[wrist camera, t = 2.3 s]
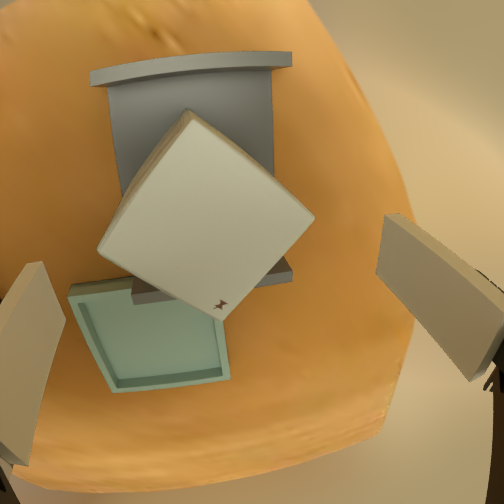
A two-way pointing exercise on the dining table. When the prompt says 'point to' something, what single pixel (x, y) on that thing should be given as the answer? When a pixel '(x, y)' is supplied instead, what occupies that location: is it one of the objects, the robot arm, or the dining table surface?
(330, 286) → the dining table surface
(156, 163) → the supplement box
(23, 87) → the dining table surface
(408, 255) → the robot arm
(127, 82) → the bay
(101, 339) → the tray
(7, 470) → the smart speaker
